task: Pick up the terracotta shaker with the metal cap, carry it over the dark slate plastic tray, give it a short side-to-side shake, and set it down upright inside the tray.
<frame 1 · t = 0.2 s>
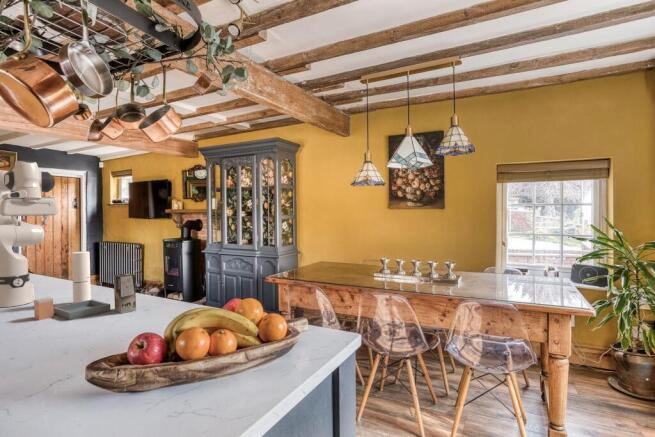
hand: (31, 225, 162), 39 cm above the kitchen island, tool pointing down, fingers open, 8 cm apart
coffee box: (125, 310, 162), on the kitchen island
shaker: (44, 317, 152), on the kitchen island
tray: (81, 312, 159), on the kitchen island
cylindrical container: (82, 303, 176), on the kitchen island
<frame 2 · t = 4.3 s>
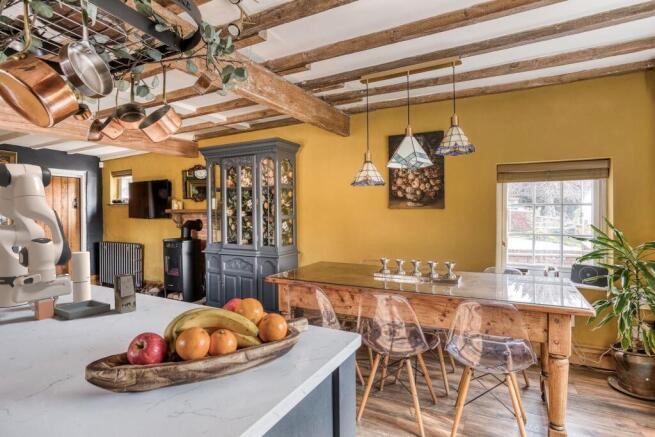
hand: (43, 309, 152), 4 cm above the kitchen island, tool pointing down, fingers closed on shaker, 5 cm apart
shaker: (44, 317, 152), on the kitchen island, touching gripper
everything else where it was.
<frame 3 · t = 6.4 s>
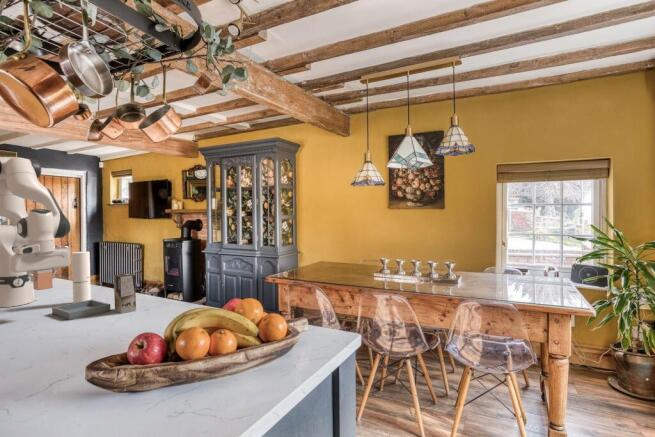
hand: (42, 279, 152), 16 cm above the kitchen island, tool pointing down, fingers closed on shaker, 5 cm apart
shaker: (43, 288, 152), point 12 cm above the kitchen island, touching gripper
everything else where it was.
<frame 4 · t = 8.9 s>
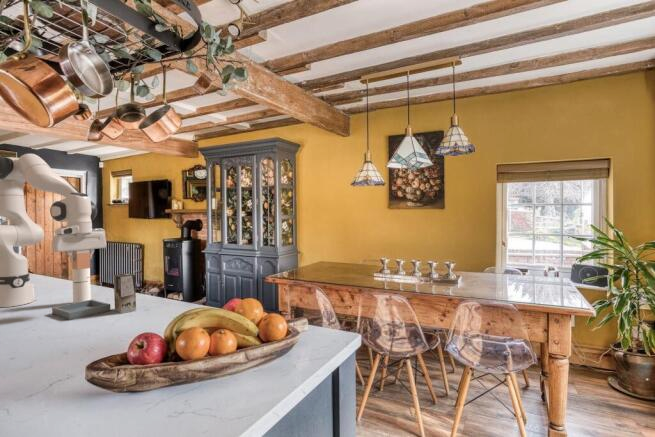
hand: (81, 260, 159), 23 cm above the kitchen island, tool pointing down, fingers closed on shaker, 5 cm apart
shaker: (81, 268, 159), point 20 cm above the kitchen island, touching gripper
everything else where it was.
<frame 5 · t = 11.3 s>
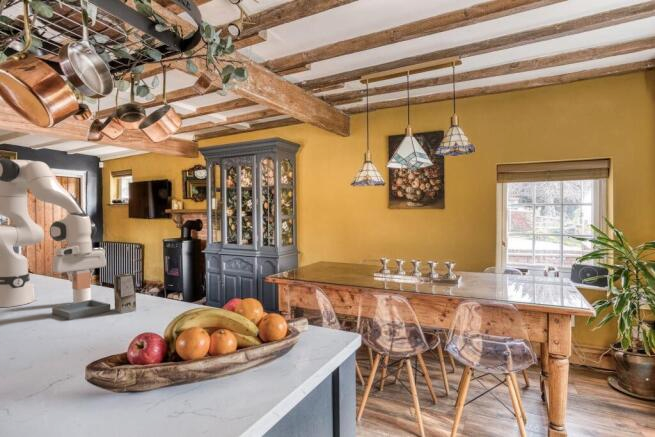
hand: (81, 280, 159), 14 cm above the kitchen island, tool pointing down, fingers closed on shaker, 5 cm apart
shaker: (81, 288, 159), point 11 cm above the kitchen island, touching gripper
everything else where it was.
when the fingers open (6 cm above the kitchen island, at t = 13.3 s): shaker drops 2 cm, resting on tray.
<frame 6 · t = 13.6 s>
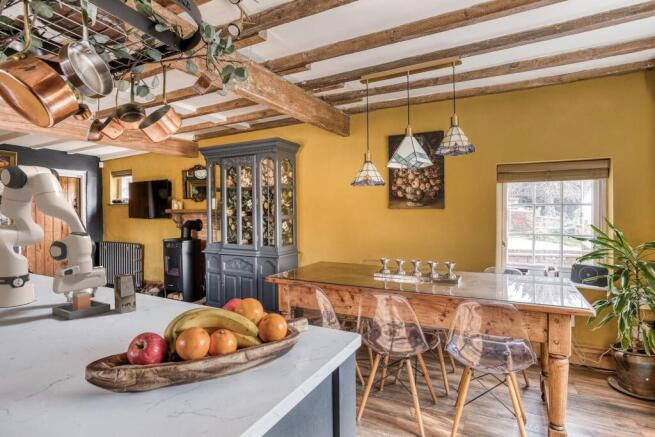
hand: (81, 299, 159), 6 cm above the kitchen island, tool pointing down, fingers open, 8 cm apart
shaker: (81, 311, 159), point 1 cm above the kitchen island, touching tray
cylindrical container: (82, 303, 176), on the kitchen island, touching arm
everything else where it was.
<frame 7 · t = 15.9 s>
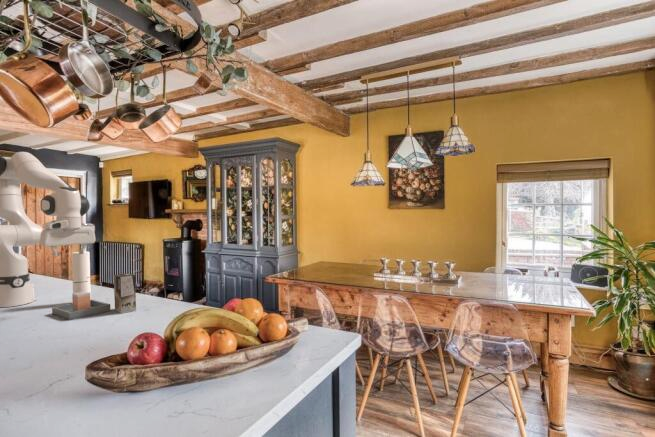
hand: (69, 255, 157), 26 cm above the kitchen island, tool pointing down, fingers open, 8 cm apart
cylindrical container: (82, 303, 176), on the kitchen island
everything else where it was.
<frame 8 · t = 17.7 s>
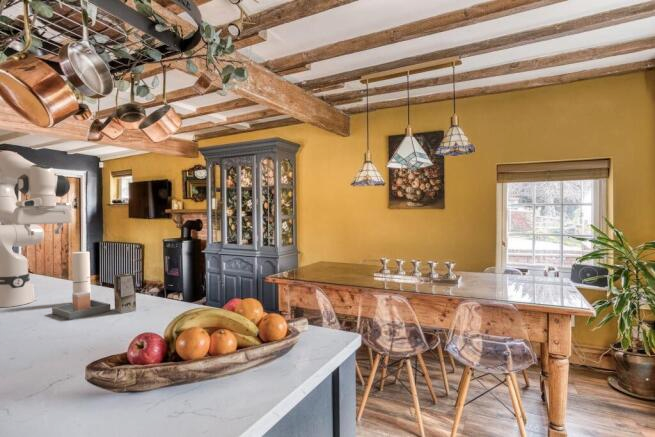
hand: (44, 234, 154), 35 cm above the kitchen island, tool pointing down, fingers open, 8 cm apart
nothing on the kitchen island moved.
at the end: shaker inside the target area on the tray (0.1 cm from its centre), point 0.6 cm above the tray's base; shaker tilted 0°; the gripper is holding nothing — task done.
